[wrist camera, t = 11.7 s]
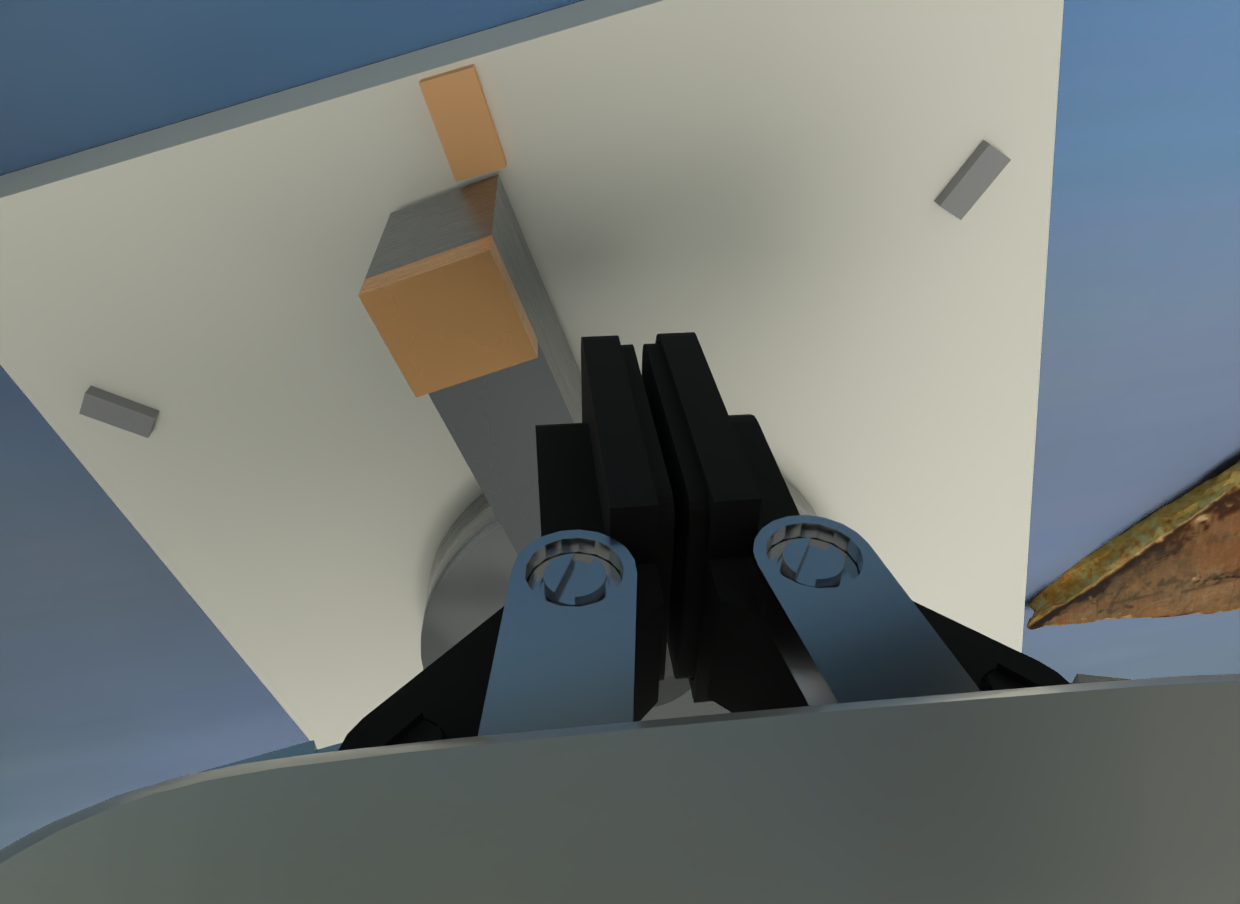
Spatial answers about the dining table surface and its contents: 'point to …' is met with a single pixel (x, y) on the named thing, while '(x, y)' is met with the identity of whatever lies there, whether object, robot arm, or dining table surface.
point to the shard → (1158, 564)
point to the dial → (484, 393)
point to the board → (559, 296)
